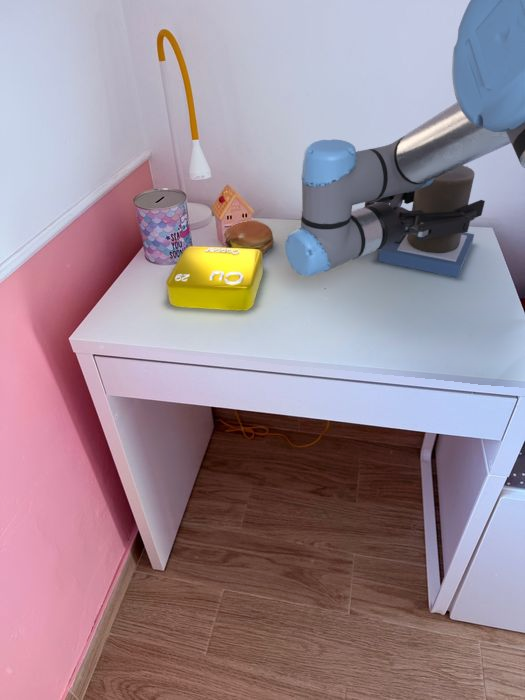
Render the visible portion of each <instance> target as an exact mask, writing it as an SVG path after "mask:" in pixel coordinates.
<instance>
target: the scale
mask: <svg viewBox="0 0 525 700" xmlns="http://www.w3.org/2000/svg"><path fill="white" fill-rule="evenodd" d="M407 237H408V234H404V235H401V236H400V237H399V238H398V239H397V240H396V241H395V242H394V243H393V244H391V245H389V246H387V247H384V248H382V249H379V252H378V260H377V261H378V263H384V264H390V265H393V266H399V267H404V268H407V269H408V268H409V269H414V270H418V271H423V272H428V273H432V274H433V273H434V274H437V275H443V276H449V277H453V278H456V279H457V278H459V276H460V274H461V272H462V270H463V267H464V265H465V262H466V260H467V258H468V255H469V253H470V251H471V248H472V246H473V241H474V237H475V234H474V233H470V232H465V233H462V234H461V239H460V244H459V246H458V248H457V249H455V250H453V251H451V252H447V253H432V252H424V251H421V250H418V249H416V248H414V247H412V246H411V245H410V243H409V242H408V239H407Z"/></svg>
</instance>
